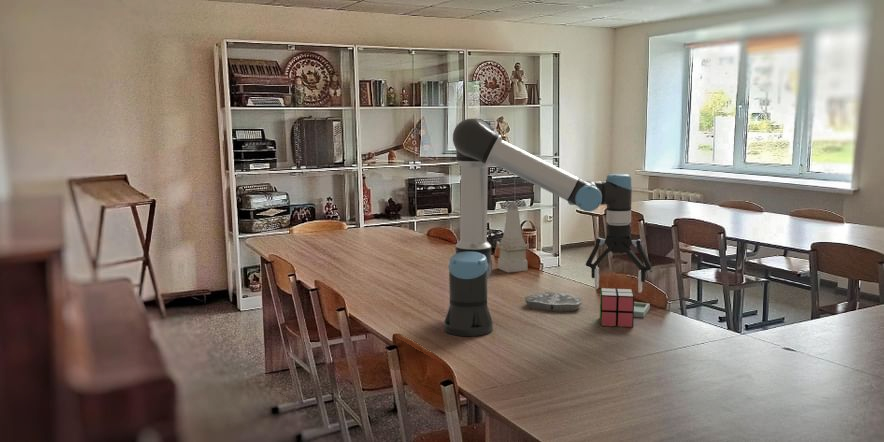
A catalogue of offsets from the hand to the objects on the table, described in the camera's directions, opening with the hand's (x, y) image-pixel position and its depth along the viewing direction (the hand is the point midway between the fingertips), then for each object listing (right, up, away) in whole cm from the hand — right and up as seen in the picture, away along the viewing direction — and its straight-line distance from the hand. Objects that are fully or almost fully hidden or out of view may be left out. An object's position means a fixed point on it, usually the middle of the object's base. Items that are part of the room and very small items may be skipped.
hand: (618, 290), depth 220 cm
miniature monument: (-25, 0, +84) cm, 87 cm away
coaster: (+7, -9, +14) cm, 18 cm away
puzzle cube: (0, -11, +2) cm, 11 cm away
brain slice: (-17, -8, +23) cm, 29 cm away
